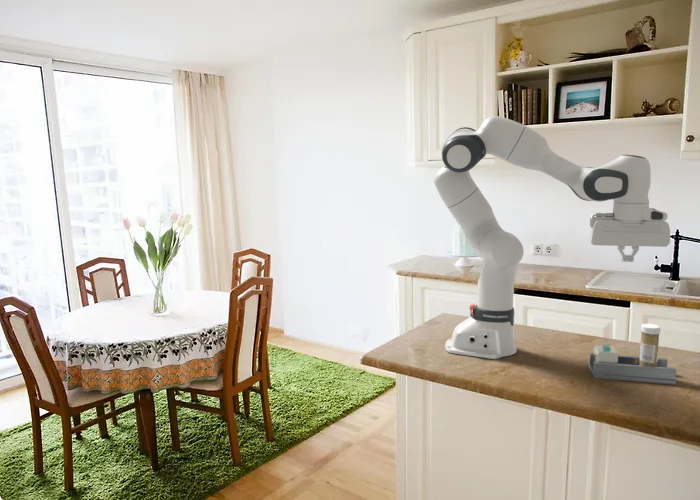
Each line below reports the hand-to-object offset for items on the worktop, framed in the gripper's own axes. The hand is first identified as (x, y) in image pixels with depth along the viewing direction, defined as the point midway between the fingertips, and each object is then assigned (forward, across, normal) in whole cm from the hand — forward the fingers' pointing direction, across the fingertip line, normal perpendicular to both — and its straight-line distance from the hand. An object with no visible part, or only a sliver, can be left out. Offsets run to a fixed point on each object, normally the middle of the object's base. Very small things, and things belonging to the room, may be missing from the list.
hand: (627, 261), depth 149 cm
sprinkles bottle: (+30, +5, -6) cm, 31 cm away
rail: (+31, +1, -7) cm, 32 cm away
